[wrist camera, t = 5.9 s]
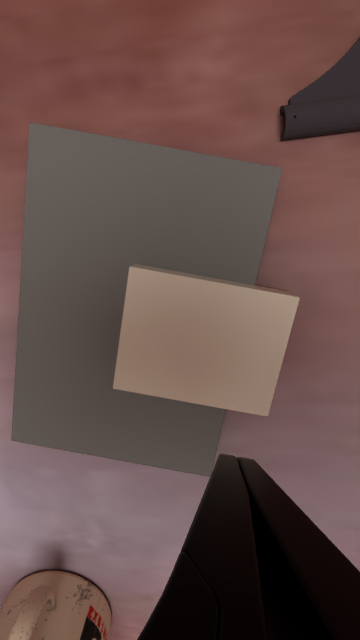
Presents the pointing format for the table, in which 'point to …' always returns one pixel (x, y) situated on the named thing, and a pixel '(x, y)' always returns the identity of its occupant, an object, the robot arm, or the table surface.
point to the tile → (202, 339)
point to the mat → (121, 285)
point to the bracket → (327, 102)
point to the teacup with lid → (55, 609)
